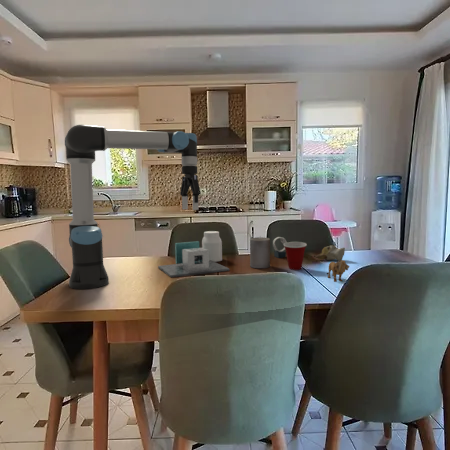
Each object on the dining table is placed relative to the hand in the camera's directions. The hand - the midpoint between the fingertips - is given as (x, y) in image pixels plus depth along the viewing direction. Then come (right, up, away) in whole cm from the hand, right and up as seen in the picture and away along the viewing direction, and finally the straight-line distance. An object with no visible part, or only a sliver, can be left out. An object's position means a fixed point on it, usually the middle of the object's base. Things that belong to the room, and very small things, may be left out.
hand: (190, 209), depth 180 cm
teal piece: (+1, -26, -3) cm, 27 cm away
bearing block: (+2, -29, -5) cm, 29 cm away
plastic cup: (+50, -28, -7) cm, 58 cm away
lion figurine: (+63, -30, -28) cm, 75 cm away
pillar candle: (+34, -28, -1) cm, 44 cm away
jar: (+10, -26, +18) cm, 33 cm away
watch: (+47, -25, +23) cm, 58 cm away
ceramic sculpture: (+72, -26, +12) cm, 78 cm away
